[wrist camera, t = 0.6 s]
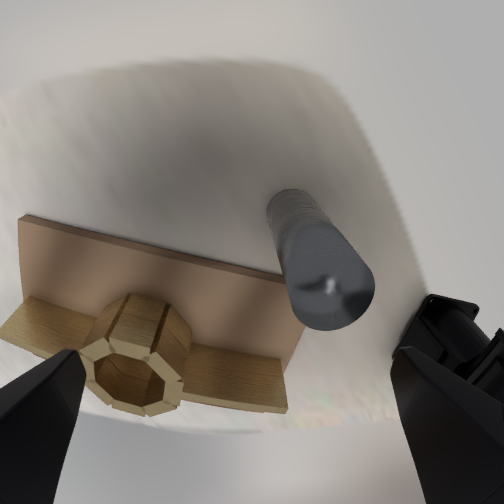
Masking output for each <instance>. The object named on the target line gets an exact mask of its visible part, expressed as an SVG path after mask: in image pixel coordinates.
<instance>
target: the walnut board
mask: <svg viewBox="0 0 504 504" xmlns="http://www.w3.org/2000/svg"><path fill="white" fill-rule="evenodd" d="M18 245H19V262H20V273H21V283H22V292H23V300H24V301H25V300H26V299H27V298H28V297H29V296H33V297H35V298H38V299H41V300H44V301H47V302H50V303H53V304H55V305H58V306H61V307H64V308H67V309H71V310H74V311H77V312H80V313H83V314H86V315H90V316H93V317H96V318H98V317H99V315H100V314H101V312H102V310H103V309H104V307H105V306H107V305H108V304H110V303H112V302H114V301H115V300H117V299H119V298H120V297H122V296H124V295H125V294H127V293H128V294H129V295H130V296H131V295H132V293H137V294H141V295H145V296H149V297H153V298H157V299H161V300H165V301H166V306H168V305H170V304H172V305H173V307H174V308H175V309H176V310H177V312H178V313H179V314H180V315H181V317H182V318H183V319H184V320H185V321H186V323H187V324H188V325H189V326H190V327H191V329H192V330H191V333H193V335H192V340H191V342H193V343H198V344H203V345H207V346H212V347H217V348H222V349H227V350H233V351H238V352H243V353H249V354H255V355H261V356H267V357H273V358H280V359H281V365H282V371H283V374H284V372H285V370H286V367H287V365H288V363H289V361H290V359H291V357H292V355H293V352H294V350H295V348H296V346H297V344H298V342H299V339H300V337H301V335H302V333H303V330H304V328H305V325H304V324H302V323H301V322H300V321H299V320H298V319H297V317H296V316H295V314H294V313H293V310H292V307H291V303H290V300H289V296H288V292H287V288H286V284H285V281H284V277H283V276H278V275H274V274H269V273H265V272H260V271H256V270H252V269H247V268H243V267H238V266H234V265H230V264H225V263H221V262H217V261H212V260H208V259H204V258H199V257H195V256H191V255H187V254H182V253H178V252H174V251H170V250H165V249H161V248H157V247H153V246H149V245H145V244H140V243H136V242H132V241H128V240H124V239H120V238H116V237H112V236H108V235H104V234H100V233H96V232H92V231H88V230H84V229H80V228H76V227H72V226H68V225H64V224H60V223H56V222H52V221H48V220H44V219H40V218H37V217H33V216H29V215H24V216H23V217H21V218H19V219H18ZM33 354H34V353H33ZM34 355H36V356H39V355H37V354H34ZM39 357H41V358H44V357H42V356H39ZM44 359H46V360H47V358H44ZM181 400H185V401H190V402H195V403H201V404H206V405H212V406H218V407H224V408H230V409H237V410H244V411H251V412H259V413H264V412H261V411H253V410H245V409H238V408H232V407H225V406H219V405H213V404H208V403H202V402H197V401H192V400H187V399H182V398H181Z"/></svg>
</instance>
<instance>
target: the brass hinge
mask: <svg viewBox="0 0 504 504" xmlns="http://www.w3.org/2000/svg"><path fill="white" fill-rule="evenodd" d="M191 330H192V329H191V327H190V326H189V325H188V324H187V323H186V321H185V320H184V319H183V318H182V317H181V315H180V314H179V313H178V312H177V310H176V309H175V308H174V307H173V305H172V304H170V305H168V306H166V301H165V300H161V299H157V298H153V297H149V296H145V295H141V294H137V293H132V295H131V296H130V295H129V294H128V293H127V294H125V295H124V296H122V297H120V298H119V299H117V300H115V301H114V302H112V303H110V304H108V305H107V306H105V307H104V309H103V310H102V312H101V314H100V315H99V317H98V318H96V317H93V316H90V315H86V314H83V313H80V312H77V311H74V310H71V309H67V308H64V307H61V306H58V305H55V304H53V303H50V302H47V301H44V300H41V299H38V298H35V297H33V296H29V297H28V298H27V299H26V300H25V301H24V302H23V303H22V304H21V305H20V306H19V307H18V309H17V310H16V311H15V312H14V313H13V314H12V315H11V316H10V317H9V319H8V320H7V321H6V322H5V323H4V324H3V325H2V327H1V328H0V339H3V340H5V341H7V342H9V343H11V344H13V345H16V346H18V347H20V348H23V349H25V350H27V351H30V352H32V353H34V354H37V355H39V356H42V357H44V358H47V359H48V358H50V357H51V356H53V355H55V354H56V353H58V352H59V351H61V350H63V349H74V350H77V351H78V353H79V355H80V357H81V360H82V362H83V365H84V367H85V369H86V375H87V376H86V382H85V386H87V387H88V388H89V389H90V390H91V391H92V392H93V393H94V394H95V395H96V396H97V397H98V398H100V399H101V400H102V401H103V402H104V403H105V404H106V405H110V404H112V408H114V409H118V410H121V411H125V412H128V413H132V414H136V415H140V416H143V417H145V415H146V414H147V415H148V416H149V417H152V416H155V415H158V414H162V413H165V412H168V411H171V410H174V409H177V406H180V400H181V398H182V399H187V400H192V401H197V402H202V403H208V404H213V405H219V406H225V407H232V408H238V409H245V410H253V411H261V412H270V413H280V414H285V413H286V412H287V410H288V402H287V396H286V390H285V384H284V377H283V371H282V365H281V359H280V358H273V357H267V356H261V355H255V354H249V353H243V352H238V351H233V350H227V349H222V348H217V347H212V346H207V345H203V344H198V343H193V342H191V340H192V335H193V333H191Z"/></svg>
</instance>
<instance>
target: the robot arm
mask: <svg viewBox="0 0 504 504" xmlns="http://www.w3.org/2000/svg"><path fill="white" fill-rule="evenodd" d="M431 300H432V301H431ZM430 301H431V302H430ZM478 312H479V307H478V306H477V305H476V304H474V303H469V302H465V301H461V300H457V299H453V298H448V297H444V296H440V295H435V294H430V295H428V296H427V297H426V299H425V300H424V302H423V304H422V306H421V308H420V310H419V312H418V314H417V315H416V317H415V319H414V321H413V323H412V324H411V326H410V328H409V330H408V331H407V333H406V335H405V337H404V338H403V340H402V342H401V343H400V345H399V347H398V348H397V350H396V351H395V353H394V355H393V357H392V360H393V364H392V367H391V371H390V377H391V381H392V385H393V389H394V394H395V398H396V402H397V407H398V411H399V416H400V420H401V423H402V426H403V429H404V432H405V435H406V438H407V441H408V444H409V448H410V451H411V454H412V457H413V460H414V463H415V466H416V470H417V473H418V477H419V480H420V483H421V487H422V490H423V494H424V497H425V501H426V504H504V330H502V329H501V328H499V329H498V331H497V332H496V333H495V336H494V338H493V339H492V340H490V339H489V338H488V337H487V336H486V335H485V334H484V332H483V331H482V330H481V329H480V328H479V327H478V326H477V325H476V324H475V323H474V319H475V317H476V316H477V314H478ZM86 376H87V375H86V369H85V367H84V365H83V362H82V360H81V357H80V355H79V353H78V351H77V350H74V349H63V350H61V351H59V352H58V353H56V354H55V355H53V356H51V357H50V358H48V359H47V360H45V361H43V362H42V363H40V364H39V365H37V366H35V367H34V368H32V369H31V370H29V371H27V372H26V373H24V374H23V375H21V376H19V377H18V378H16V379H15V380H13V381H11V382H10V383H8V384H7V385H5V386H4V387H2V388H0V504H53V502H54V498H55V493H56V489H57V485H58V482H59V478H60V474H61V470H62V467H63V463H64V460H65V456H66V453H67V449H68V446H69V443H70V440H71V437H72V433H73V430H74V427H75V424H76V420H77V416H78V412H79V408H80V403H81V399H82V394H83V390H84V386H85V382H86Z"/></svg>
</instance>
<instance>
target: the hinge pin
mask: <svg viewBox="0 0 504 504" xmlns="http://www.w3.org/2000/svg"><path fill="white" fill-rule="evenodd" d="M267 218H268V222H269V225H270V229H271V233H272V236H273V240H274V244H275V247H276V251H277V255H278V258H279V262H280V266H281V269H282V273H283V277H284V281H285V284H286V288H287V292H288V296H289V300H290V303H291V307H292V310H293V313H294V314H295V316H296V317H297V319H298V320H299V321H300V322H301V323H302V324H304V325H305V326H307V327H309V328H312V329H315V330H321V331H330V330H336V329H340V328H343V327H345V326H348V325H350V324H351V323H353V322H354V321H356V320H357V319H358V318H359V317H361V316H362V315H363V314H364V312H365V311H366V310H367V308H368V307H369V305H370V303H371V301H372V299H373V296H374V291H375V282H374V277H373V274H372V272H371V270H370V269H369V267H368V266H367V265H366V264H365V262H364V261H363V260H362V259H361V257H360V256H359V255H358V254H357V252H356V251H355V250H354V249H353V247H352V246H351V245H350V244H349V242H348V241H347V240H346V239H345V238H344V236H343V235H342V234H341V233H340V232H339V230H338V229H337V228H336V227H335V226H334V224H333V223H332V222H331V221H330V220H329V218H328V217H327V216H326V215H325V214H324V213H323V211H322V210H321V209H320V208H319V207H318V206H317V204H316V203H315V202H314V201H313V200H312V199H311V198H310V196H309V195H307V194H306V193H305V192H303V191H300V190H297V189H287V190H284V191H281V192H279V193H278V194H276V195H275V196H274V197H273V198H272V200H271V201H270V203H269V205H268V209H267Z"/></svg>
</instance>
